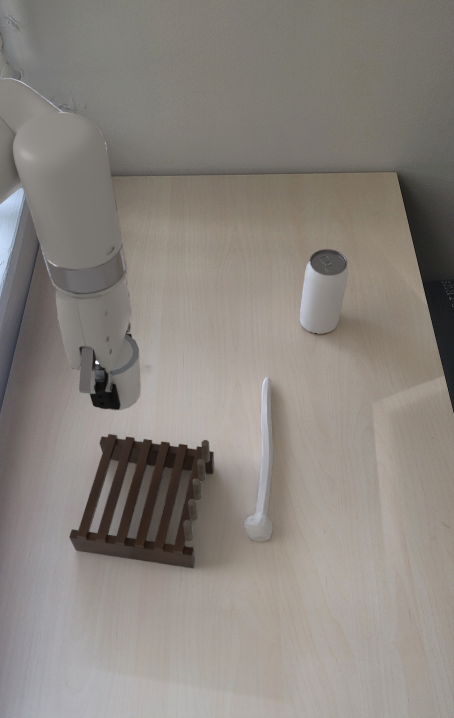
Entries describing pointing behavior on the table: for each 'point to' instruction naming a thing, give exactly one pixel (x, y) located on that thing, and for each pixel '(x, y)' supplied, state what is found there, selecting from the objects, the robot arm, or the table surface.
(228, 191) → the table surface
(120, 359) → the white cup
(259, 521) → the white spoon
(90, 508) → the rack
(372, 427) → the table surface
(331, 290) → the can
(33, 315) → the table surface
